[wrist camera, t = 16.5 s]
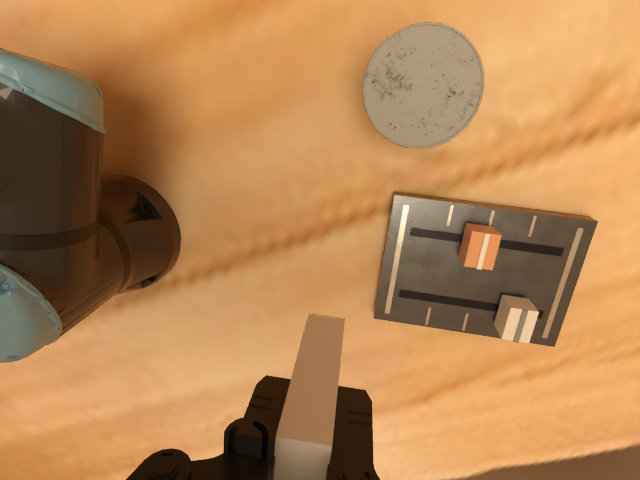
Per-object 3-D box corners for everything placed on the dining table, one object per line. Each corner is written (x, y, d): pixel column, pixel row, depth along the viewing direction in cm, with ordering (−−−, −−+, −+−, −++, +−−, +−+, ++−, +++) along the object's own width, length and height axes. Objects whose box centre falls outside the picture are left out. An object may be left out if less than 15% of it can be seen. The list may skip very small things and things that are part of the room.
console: (374, 310, 53) (373, 318, 51) (393, 191, 48) (394, 195, 46) (547, 337, 51) (554, 347, 49) (588, 216, 46) (598, 221, 44)
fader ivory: (493, 324, 49) (502, 340, 45) (502, 294, 47) (511, 308, 44) (519, 328, 48) (530, 344, 45) (528, 298, 47) (540, 313, 44)
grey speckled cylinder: (420, 23, 42) (437, -8, 30) (473, 98, 43) (508, 96, 32) (348, 87, 45) (339, 81, 33) (400, 155, 46) (408, 172, 35)
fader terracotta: (458, 255, 46) (464, 267, 43) (466, 222, 45) (473, 232, 42) (484, 259, 46) (493, 271, 43) (493, 226, 45) (502, 236, 42)
